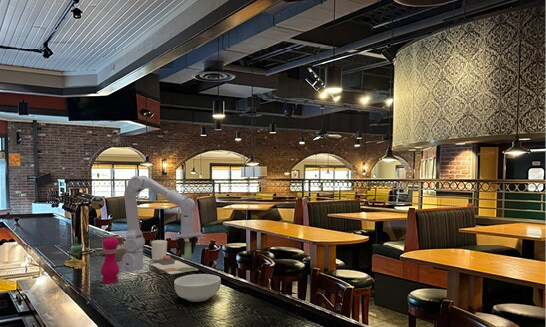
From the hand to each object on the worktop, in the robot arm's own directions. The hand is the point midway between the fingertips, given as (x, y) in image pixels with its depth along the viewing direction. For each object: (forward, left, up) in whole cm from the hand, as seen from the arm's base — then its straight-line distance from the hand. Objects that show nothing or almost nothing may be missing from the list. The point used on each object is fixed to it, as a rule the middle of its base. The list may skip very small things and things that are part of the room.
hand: (186, 254), depth 190 cm
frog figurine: (-5, +58, -9) cm, 58 cm away
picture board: (+3, +8, -8) cm, 12 cm away
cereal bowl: (-34, -23, -8) cm, 42 cm away
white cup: (+16, +24, -8) cm, 30 cm away
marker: (0, 0, -2) cm, 2 cm away
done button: (+8, +15, -6) cm, 18 cm away
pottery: (+16, +50, -8) cm, 53 cm away
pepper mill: (-25, +22, -8) cm, 35 cm away
